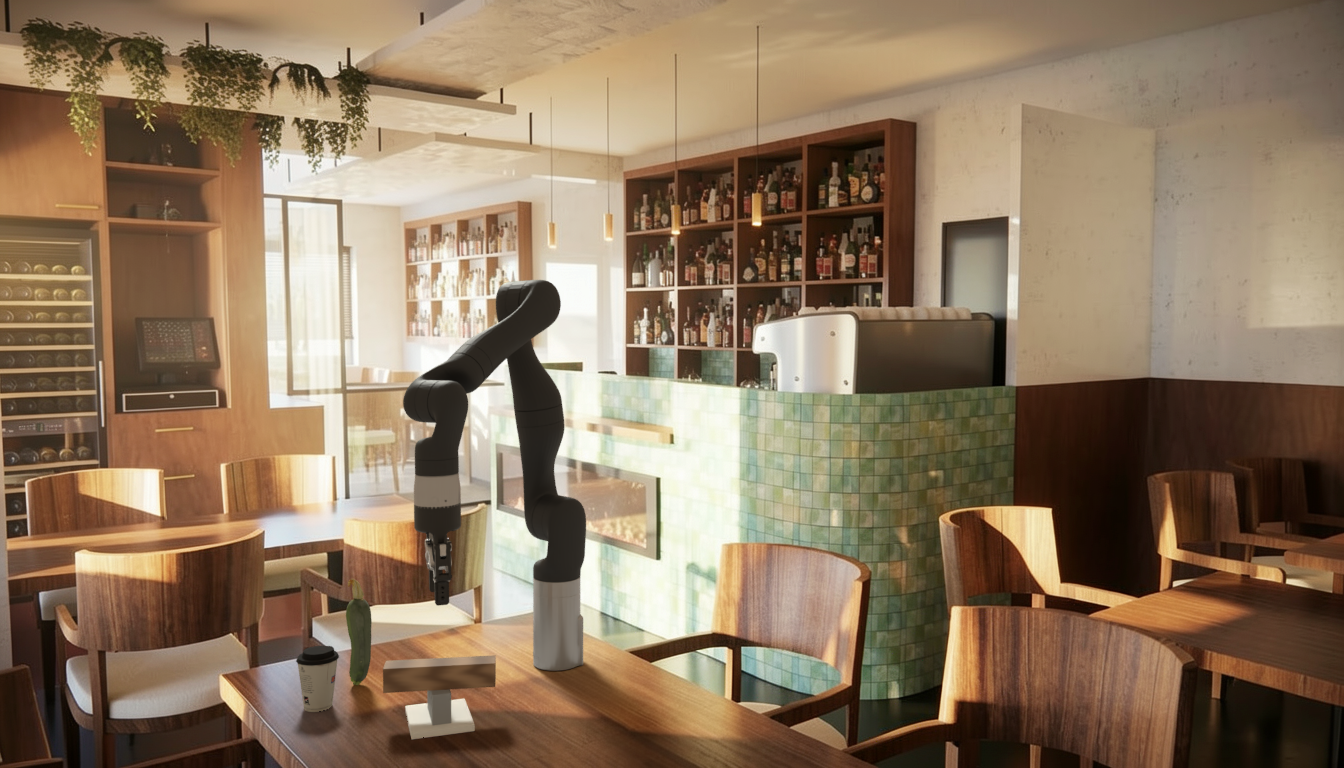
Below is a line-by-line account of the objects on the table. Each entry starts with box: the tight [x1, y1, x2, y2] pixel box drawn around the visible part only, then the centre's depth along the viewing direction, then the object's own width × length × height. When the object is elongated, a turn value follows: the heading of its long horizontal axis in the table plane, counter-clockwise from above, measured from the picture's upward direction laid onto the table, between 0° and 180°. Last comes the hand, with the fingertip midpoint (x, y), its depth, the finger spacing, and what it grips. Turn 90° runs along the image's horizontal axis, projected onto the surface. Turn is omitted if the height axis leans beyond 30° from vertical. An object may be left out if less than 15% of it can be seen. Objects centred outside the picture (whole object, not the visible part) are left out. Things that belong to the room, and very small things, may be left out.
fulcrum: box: [404, 689, 476, 740], centre depth 158 cm, size 10×12×6 cm
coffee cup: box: [295, 645, 340, 713], centre depth 164 cm, size 7×7×10 cm
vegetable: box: [345, 578, 372, 686], centre depth 173 cm, size 4×4×20 cm
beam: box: [382, 655, 497, 694], centre depth 158 cm, size 18×4×4 cm, turn 100°
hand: (438, 597), depth 157 cm, fingers open, 8 cm apart
